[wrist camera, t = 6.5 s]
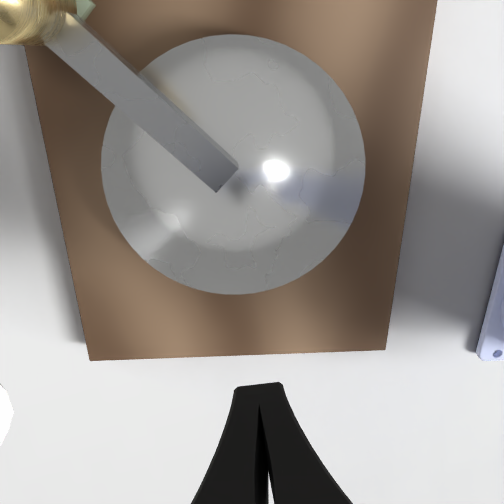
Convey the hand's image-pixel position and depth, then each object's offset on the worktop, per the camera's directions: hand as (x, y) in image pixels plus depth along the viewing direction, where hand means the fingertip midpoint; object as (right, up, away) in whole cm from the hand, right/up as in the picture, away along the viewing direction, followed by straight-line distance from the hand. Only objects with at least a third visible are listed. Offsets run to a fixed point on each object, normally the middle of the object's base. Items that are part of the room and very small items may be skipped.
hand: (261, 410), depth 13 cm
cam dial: (-3, +9, +4) cm, 11 cm away
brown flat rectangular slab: (-1, +9, +6) cm, 11 cm away
